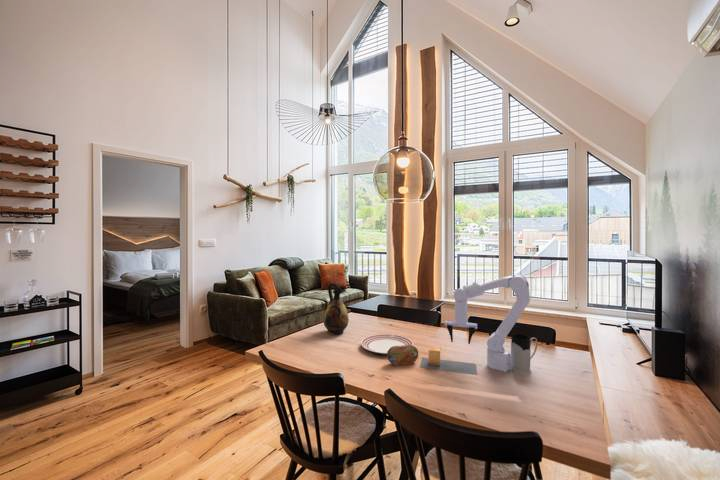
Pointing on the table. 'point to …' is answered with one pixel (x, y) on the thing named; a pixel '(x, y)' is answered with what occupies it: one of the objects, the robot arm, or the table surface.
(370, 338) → the dinner plate
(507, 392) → the table surface
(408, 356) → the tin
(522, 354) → the grey mug
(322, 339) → the table surface
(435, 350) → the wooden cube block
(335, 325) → the ceramic jug
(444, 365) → the mat
